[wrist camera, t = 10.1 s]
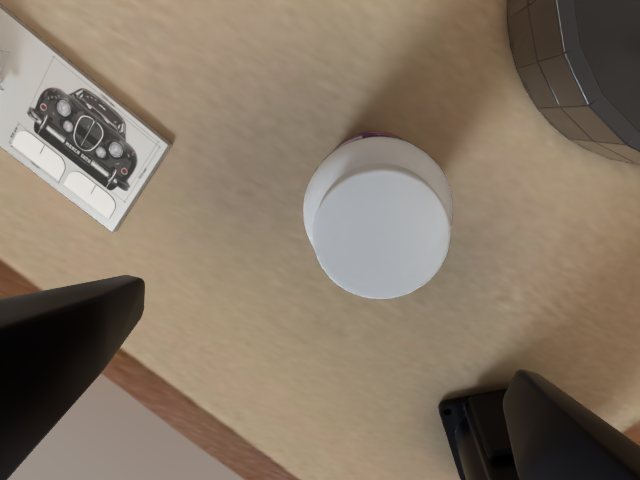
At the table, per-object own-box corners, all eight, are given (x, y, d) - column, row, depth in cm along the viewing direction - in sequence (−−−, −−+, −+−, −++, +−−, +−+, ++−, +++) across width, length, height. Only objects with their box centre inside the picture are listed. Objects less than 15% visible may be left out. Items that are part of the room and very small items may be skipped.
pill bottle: (445, 184, 19) (519, 245, 10) (369, 249, 21) (373, 352, 12) (376, 106, 19) (388, 96, 9) (302, 180, 20) (250, 232, 11)
